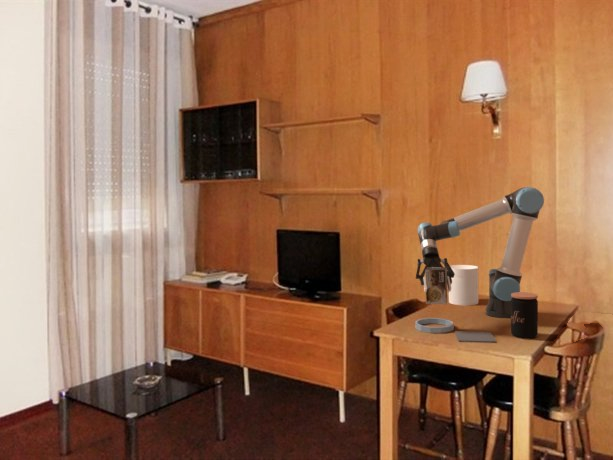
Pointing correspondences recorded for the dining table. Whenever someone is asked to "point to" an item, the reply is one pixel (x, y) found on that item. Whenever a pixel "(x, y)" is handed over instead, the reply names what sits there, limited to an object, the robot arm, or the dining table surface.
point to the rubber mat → (474, 336)
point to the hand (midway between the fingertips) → (438, 290)
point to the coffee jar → (524, 315)
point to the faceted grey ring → (434, 329)
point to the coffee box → (436, 285)
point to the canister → (464, 285)
